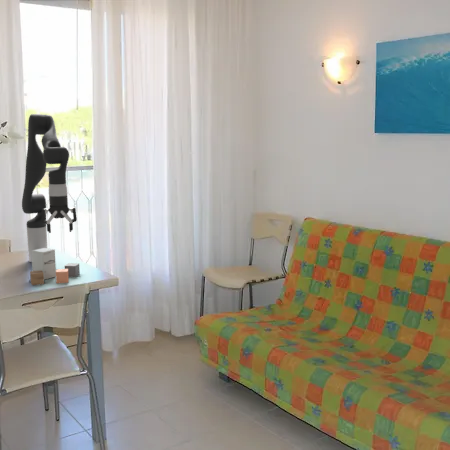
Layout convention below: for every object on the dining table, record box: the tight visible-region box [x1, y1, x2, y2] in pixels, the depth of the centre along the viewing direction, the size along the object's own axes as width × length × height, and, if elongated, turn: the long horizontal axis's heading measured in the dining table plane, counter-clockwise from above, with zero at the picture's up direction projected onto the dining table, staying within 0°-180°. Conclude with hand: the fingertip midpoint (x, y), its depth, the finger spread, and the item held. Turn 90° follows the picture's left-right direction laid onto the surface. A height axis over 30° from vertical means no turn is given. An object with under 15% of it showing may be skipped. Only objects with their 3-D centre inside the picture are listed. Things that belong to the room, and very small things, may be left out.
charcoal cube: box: [64, 262, 80, 278], centre depth 274 cm, size 5×5×5 cm
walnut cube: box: [29, 270, 45, 286], centre depth 261 cm, size 5×5×5 cm
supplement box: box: [31, 247, 57, 281], centre depth 270 cm, size 7×7×13 cm
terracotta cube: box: [55, 268, 70, 284], centre depth 263 cm, size 5×5×5 cm
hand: (60, 232), depth 260 cm, fingers open, 8 cm apart
